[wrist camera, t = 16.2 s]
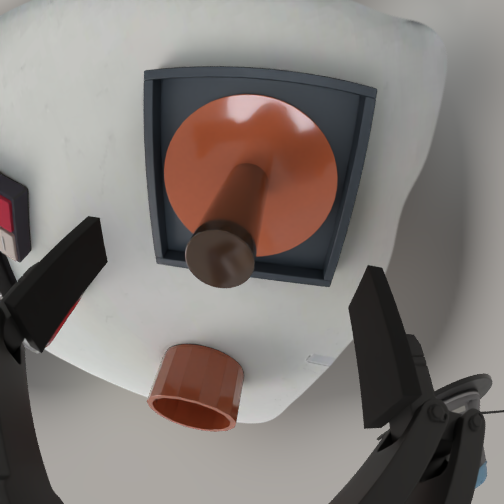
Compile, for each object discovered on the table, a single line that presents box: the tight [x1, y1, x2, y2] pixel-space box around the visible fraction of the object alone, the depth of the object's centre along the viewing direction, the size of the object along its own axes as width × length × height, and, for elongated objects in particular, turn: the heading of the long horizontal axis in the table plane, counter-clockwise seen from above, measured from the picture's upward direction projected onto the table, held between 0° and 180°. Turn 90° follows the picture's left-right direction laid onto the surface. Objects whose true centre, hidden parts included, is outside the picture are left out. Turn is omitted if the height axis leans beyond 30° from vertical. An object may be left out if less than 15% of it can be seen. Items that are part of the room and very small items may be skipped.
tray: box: [144, 66, 377, 287], centre depth 21 cm, size 18×17×2 cm
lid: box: [164, 94, 338, 288], centre depth 17 cm, size 14×14×11 cm
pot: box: [147, 344, 244, 432], centre depth 36 cm, size 13×13×8 cm
